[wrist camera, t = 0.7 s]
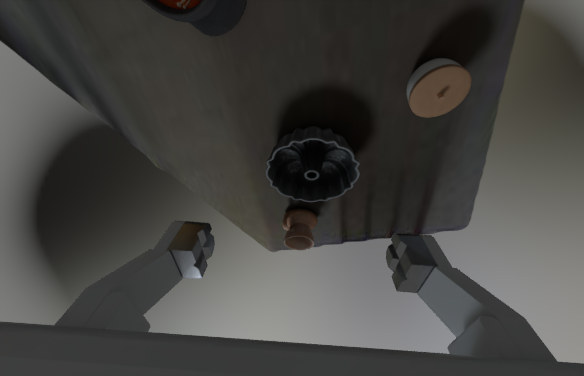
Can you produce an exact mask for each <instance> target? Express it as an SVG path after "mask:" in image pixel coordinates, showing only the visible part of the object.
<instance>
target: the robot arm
mask: <svg viewBox="0 0 584 376" xmlns="http://www.w3.org/2000/svg"><path fill="white" fill-rule="evenodd" d="M210 232H211V226H210V224H209V223H201V222H189V221H174V222H172V224H171V225H170V226H169V228H168V229H167V231H166V232H165V233H164V235H163V236H162V238H161V239H160V241H159V242H158V244H157V245H156V246H155V248H154V249H153V250H152V249H150V250H148V251H146V252H145V253H143V254H141V255H140V256H138V257H137V258H135V259H133V260H132V261H130V262H128V263H127V264H125V265H123V266H122V267H120V268H118V269H117V270H115V271H114V272H112V273H110V274H109V275H107V276H105V277H104V278H102V279H101V280H99V281H97V282H95V283H94V284H92V285H91V286H89V287H87V288H86V289H85V290H84V291H83V292H82V293H81V295H80V296H79V297H78V298H77V299H76V300H75V302H74V303H73V304H72V305H71V306H70V308H69V309H68V310H67V311H66V312H65V313H64V315H63V316H62V317H61V318H60V319H59V321H58V322H57V323H56V324H55V325H39V324H26V323H12V322H0V376H584V364H581V363H568V362H557V360H556V359H555V358H554V356H553V355H552V354H551V352H550V351H549V350H548V348H547V347H546V346H545V344H544V343H543V342H542V340H541V339H540V338H539V336H537V334H536V333H535V331H534V330H533V328H532V327H531V326H530V324H529V323H528V322H527V321H526V319H525V318H524V317H522V316H521V315H520V314H518V313H517V312H515V311H514V310H513V309H512V308H510V307H509V306H507V305H506V304H505V303H503V302H502V301H501V300H499V299H497V298H496V297H495V296H494V295H492V294H491V293H490V292H488V291H487V290H485V289H484V288H483V287H481V286H480V285H479V284H477V283H476V282H474V281H473V280H472V279H470V278H469V277H468V276H466V275H465V274H464V273H462V272H461V271H460V270H458V269H457V268H452V266H451V264H450V263H449V261H448V260H447V258H446V256H445V255H444V253H443V252H442V250H441V248H440V247H439V245H438V244H437V242H436V240H435V239H434V237H432V236H431V235H414V234H394V235H393V236H392V239H391V240H392V243H393V244H391V245H390V246H388V248H387V251H386V260H387V264H388V267H389V268H390V269H391V270H392V271H393V272H394V273H393V275H392V279H393V282H394V284H395V287H396V290H397V291H401V292H412V293H417V294H418V295H419V297H420V298H421V299H422V300H423V301H424V302H425V303H426V304H427V305H428V306H429V307H430V309H431V310H432V311H433V312H434V313H435V314H436V315H437V316H438V317H439V318H440V319H441V321H442V322H443V323H444V324H445V325H446V326H447V327H448V328H449V329H450V330H451V332H452V333H453V334H454V335H455V336H456V337H457V338H456V339H455V340H454V341H453V342H452V343H451V344H450V345H449V346H448V350H449V353H450V354H443V353H429V352H415V351H401V350H387V349H374V348H360V347H345V346H332V345H318V344H305V343H290V342H277V341H263V340H249V339H235V338H221V337H208V336H192V335H179V334H166V333H152V332H148V331H149V329H150V324H149V323H148V321H147V320H146V319H145V317H144V316H143V315H144V314H145V313H146V312H147V311H148V310H149V309H150V308H151V307H152V306H154V305H155V304H156V303H157V302H158V301H159V300H160V299H161V298H162V297H163V296H164V295H165V294H166V293H168V292H169V291H170V290H171V289H172V288H173V287H174V286H175V285H176V284H177V283H179V281H181V280H182V278H202V277H203V274H204V272H205V270H206V268H207V262H206V260H207V259H208V258H210V257H211V256H212V253H213V250H214V244H215V243H214V236H213V235H212V234H210Z"/></svg>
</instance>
